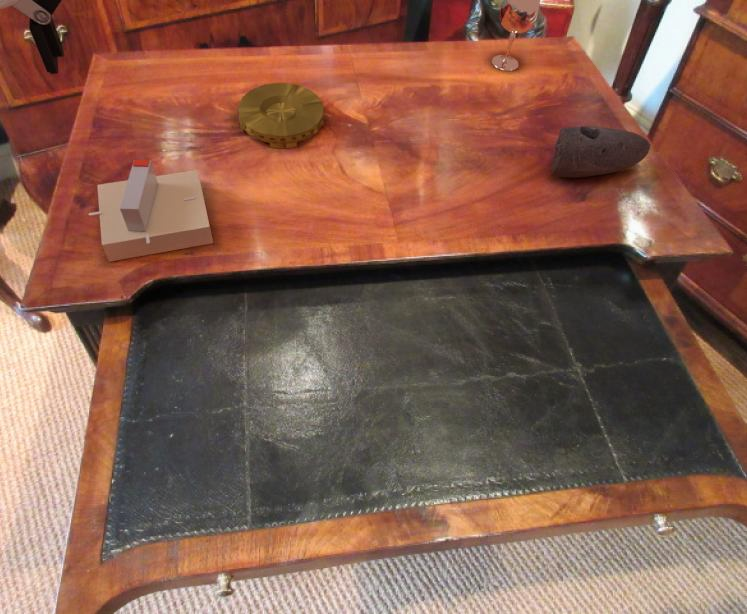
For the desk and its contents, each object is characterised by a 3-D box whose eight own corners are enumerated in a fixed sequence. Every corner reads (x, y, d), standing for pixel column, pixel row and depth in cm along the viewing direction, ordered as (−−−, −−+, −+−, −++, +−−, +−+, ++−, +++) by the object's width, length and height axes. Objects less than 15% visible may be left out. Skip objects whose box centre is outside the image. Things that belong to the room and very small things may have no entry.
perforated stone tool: (632, 156, 88) (653, 116, 82) (646, 181, 85) (669, 141, 79) (534, 160, 86) (549, 119, 80) (546, 186, 83) (562, 145, 77)
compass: (340, 118, 88) (340, 106, 87) (286, 160, 82) (285, 147, 81) (278, 85, 92) (277, 72, 90) (222, 123, 86) (220, 110, 84)
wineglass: (513, 51, 102) (533, -22, 92) (528, 70, 99) (550, -2, 89) (482, 55, 101) (499, -18, 91) (496, 75, 97) (516, 1, 88)
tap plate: (99, 270, 69) (91, 253, 67) (94, 197, 76) (86, 178, 73) (214, 250, 72) (210, 232, 70) (200, 181, 79) (196, 162, 76)
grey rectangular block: (145, 231, 69) (137, 207, 66) (128, 230, 69) (118, 207, 66) (158, 183, 74) (150, 158, 71) (141, 182, 74) (133, 158, 71)
